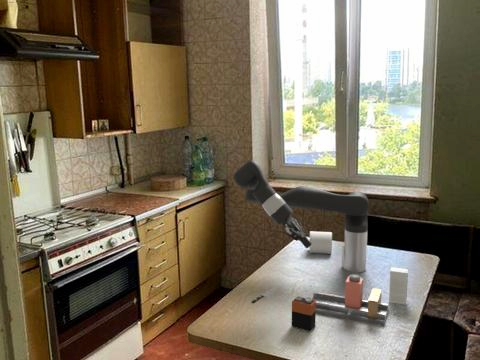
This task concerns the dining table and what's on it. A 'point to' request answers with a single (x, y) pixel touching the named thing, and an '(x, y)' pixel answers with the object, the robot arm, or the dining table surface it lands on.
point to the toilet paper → (321, 242)
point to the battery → (303, 313)
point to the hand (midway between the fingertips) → (309, 246)
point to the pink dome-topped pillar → (354, 291)
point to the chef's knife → (265, 294)
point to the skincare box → (398, 285)
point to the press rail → (368, 313)
